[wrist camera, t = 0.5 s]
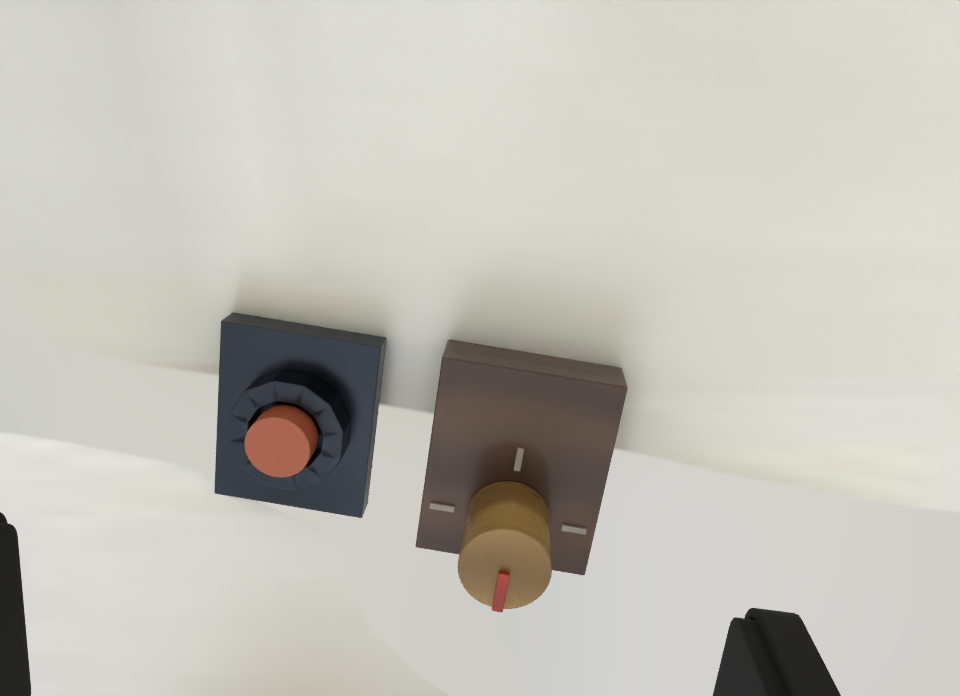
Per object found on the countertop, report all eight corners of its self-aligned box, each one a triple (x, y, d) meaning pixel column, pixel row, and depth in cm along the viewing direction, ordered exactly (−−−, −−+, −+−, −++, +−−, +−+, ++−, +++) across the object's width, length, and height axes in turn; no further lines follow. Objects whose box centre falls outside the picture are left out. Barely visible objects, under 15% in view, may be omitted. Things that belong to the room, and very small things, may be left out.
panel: (448, 339, 45) (441, 358, 42) (622, 367, 45) (628, 388, 42) (419, 540, 49) (411, 570, 46) (577, 567, 49) (579, 598, 46)
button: (256, 399, 43) (245, 412, 42) (321, 410, 43) (312, 423, 42) (253, 457, 45) (242, 472, 43) (316, 467, 45) (307, 482, 43)
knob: (472, 474, 44) (464, 525, 39) (557, 488, 44) (559, 541, 39) (460, 546, 46) (451, 604, 41) (542, 560, 46) (543, 620, 41)
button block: (232, 312, 45) (208, 331, 42) (386, 337, 45) (374, 358, 42) (224, 479, 49) (202, 509, 46) (367, 503, 49) (355, 535, 45)
